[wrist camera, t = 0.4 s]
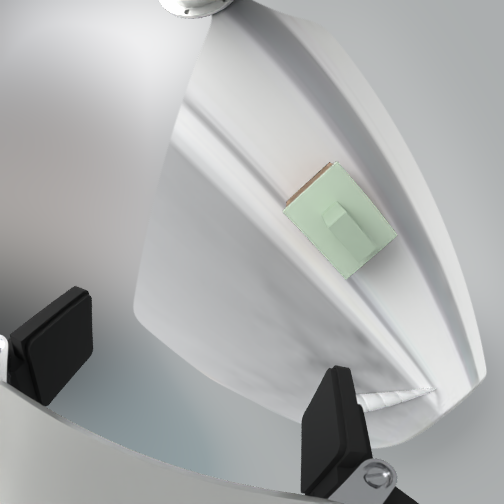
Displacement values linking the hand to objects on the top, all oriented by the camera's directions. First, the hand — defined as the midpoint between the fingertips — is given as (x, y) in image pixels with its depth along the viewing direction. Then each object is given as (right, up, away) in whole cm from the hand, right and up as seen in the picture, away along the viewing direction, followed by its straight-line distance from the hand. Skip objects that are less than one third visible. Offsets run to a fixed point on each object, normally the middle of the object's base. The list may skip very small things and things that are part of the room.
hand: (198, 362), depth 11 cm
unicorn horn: (+27, -23, +42) cm, 55 cm away
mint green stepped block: (+13, +8, +27) cm, 31 cm away
